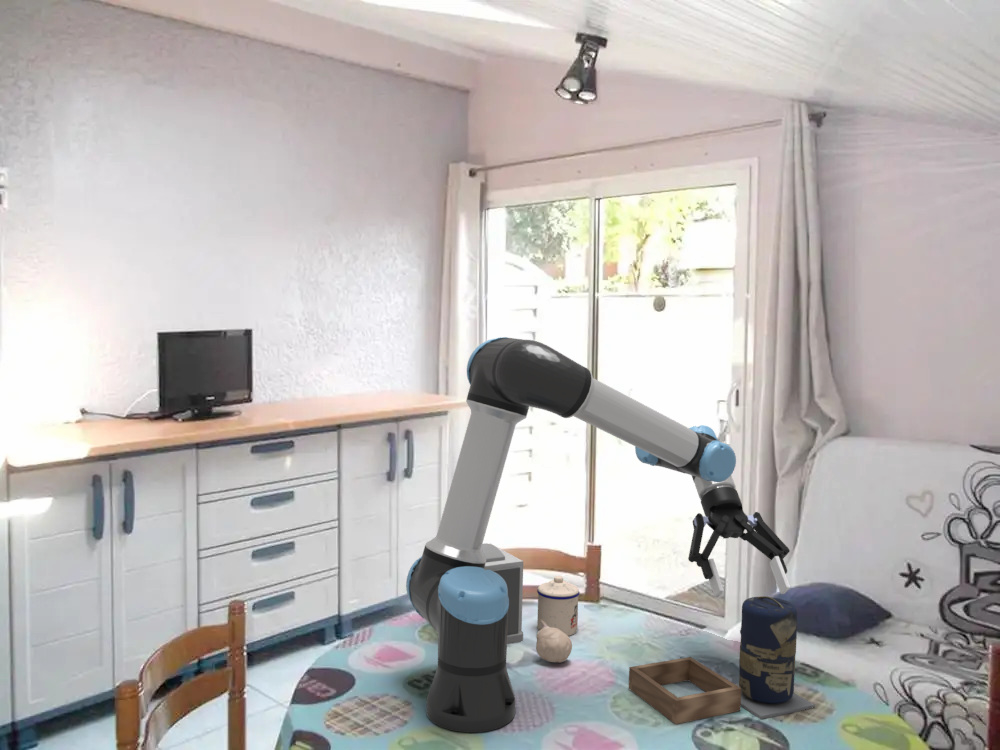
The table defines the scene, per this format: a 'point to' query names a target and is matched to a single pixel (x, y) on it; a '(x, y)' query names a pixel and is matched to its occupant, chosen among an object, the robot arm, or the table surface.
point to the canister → (767, 649)
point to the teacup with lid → (558, 605)
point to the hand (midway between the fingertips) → (752, 592)
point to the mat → (774, 706)
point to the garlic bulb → (553, 644)
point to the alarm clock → (508, 586)
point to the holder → (711, 703)
